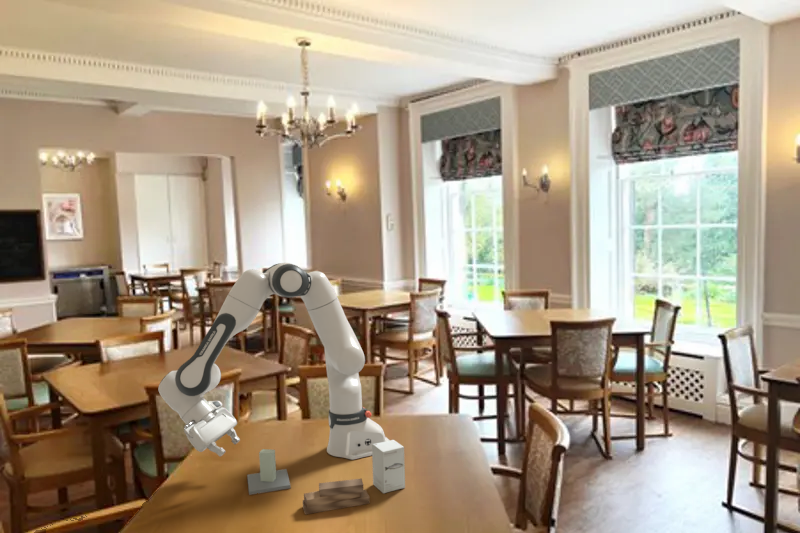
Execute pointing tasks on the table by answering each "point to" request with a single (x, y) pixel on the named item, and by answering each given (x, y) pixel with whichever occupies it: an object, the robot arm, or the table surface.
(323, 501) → the offcut stack
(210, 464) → the table surface
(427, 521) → the table surface
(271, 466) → the tall block
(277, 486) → the slate mat
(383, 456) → the supplement box
